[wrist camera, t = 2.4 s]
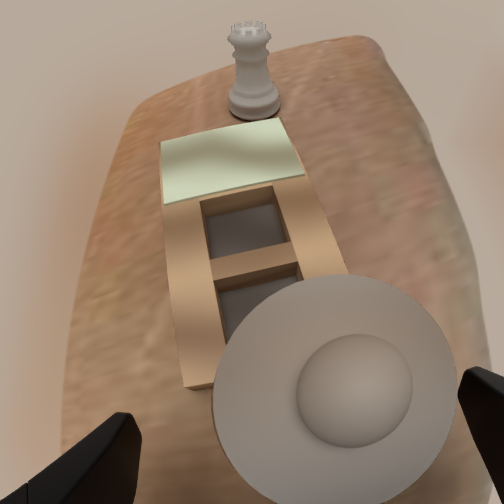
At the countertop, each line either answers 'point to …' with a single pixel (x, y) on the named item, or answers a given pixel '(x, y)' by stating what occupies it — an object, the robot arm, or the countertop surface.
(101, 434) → the robot arm
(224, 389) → the pepper mill
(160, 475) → the countertop surface
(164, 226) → the board
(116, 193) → the countertop surface
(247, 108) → the rook chess piece
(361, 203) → the countertop surface
